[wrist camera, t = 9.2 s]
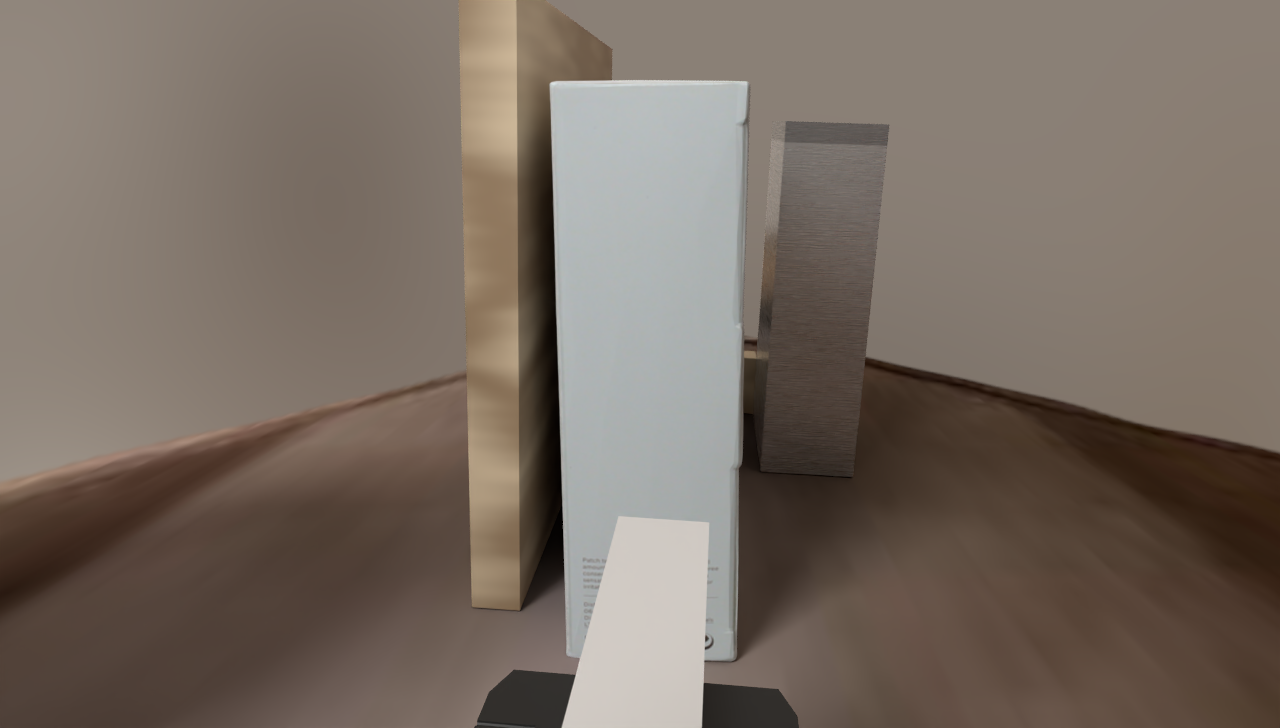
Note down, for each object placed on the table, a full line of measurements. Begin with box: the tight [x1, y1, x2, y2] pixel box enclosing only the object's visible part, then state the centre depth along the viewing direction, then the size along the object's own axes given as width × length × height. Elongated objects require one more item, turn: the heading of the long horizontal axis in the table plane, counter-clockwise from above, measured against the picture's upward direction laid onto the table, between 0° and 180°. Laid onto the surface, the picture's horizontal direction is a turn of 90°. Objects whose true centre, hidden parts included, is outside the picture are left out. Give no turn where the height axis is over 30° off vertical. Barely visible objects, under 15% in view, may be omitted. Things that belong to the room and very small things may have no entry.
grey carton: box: [753, 121, 889, 477], centre depth 40 cm, size 4×8×15 cm, turn 175°
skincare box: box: [550, 80, 750, 662], centre depth 33 cm, size 21×6×16 cm, turn 178°
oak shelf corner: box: [459, 0, 756, 611], centre depth 35 cm, size 10×22×18 cm, turn 175°
